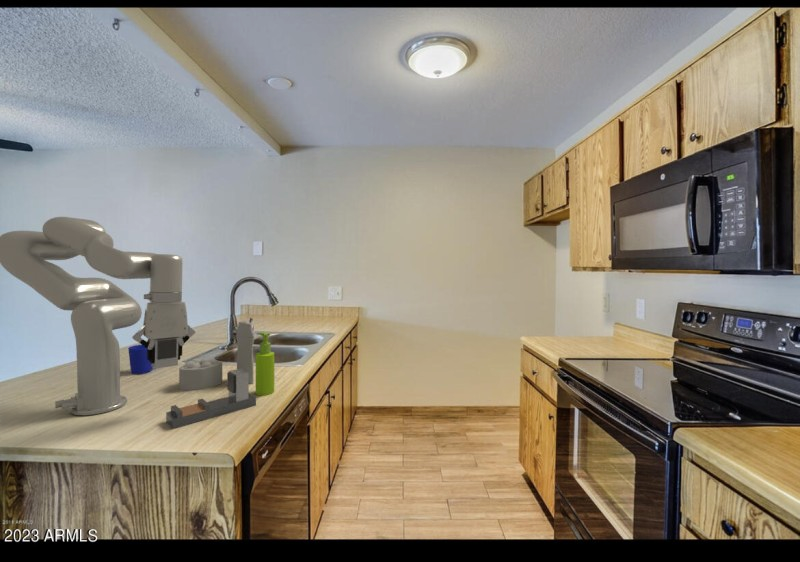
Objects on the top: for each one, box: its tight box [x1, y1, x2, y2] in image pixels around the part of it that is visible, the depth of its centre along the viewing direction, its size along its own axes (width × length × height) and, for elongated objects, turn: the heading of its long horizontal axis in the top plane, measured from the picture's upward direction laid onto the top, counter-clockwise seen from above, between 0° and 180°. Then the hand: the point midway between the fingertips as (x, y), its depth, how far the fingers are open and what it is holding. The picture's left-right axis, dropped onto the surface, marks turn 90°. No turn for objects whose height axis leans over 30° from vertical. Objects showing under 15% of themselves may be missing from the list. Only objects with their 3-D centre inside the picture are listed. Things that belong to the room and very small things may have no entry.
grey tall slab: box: [235, 320, 255, 385], centre depth 128 cm, size 11×4×22 cm, turn 55°
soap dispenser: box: [255, 331, 275, 396], centre depth 118 cm, size 6×7×20 cm
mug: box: [127, 344, 154, 375], centre depth 137 cm, size 8×12×10 cm
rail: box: [165, 368, 257, 430], centre depth 101 cm, size 22×6×10 cm, turn 137°
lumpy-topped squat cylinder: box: [178, 357, 223, 392], centre depth 124 cm, size 10×13×9 cm
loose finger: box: [152, 338, 179, 369], centre depth 100 cm, size 4×6×8 cm
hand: (164, 359), depth 101 cm, fingers closed on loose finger, 5 cm apart
